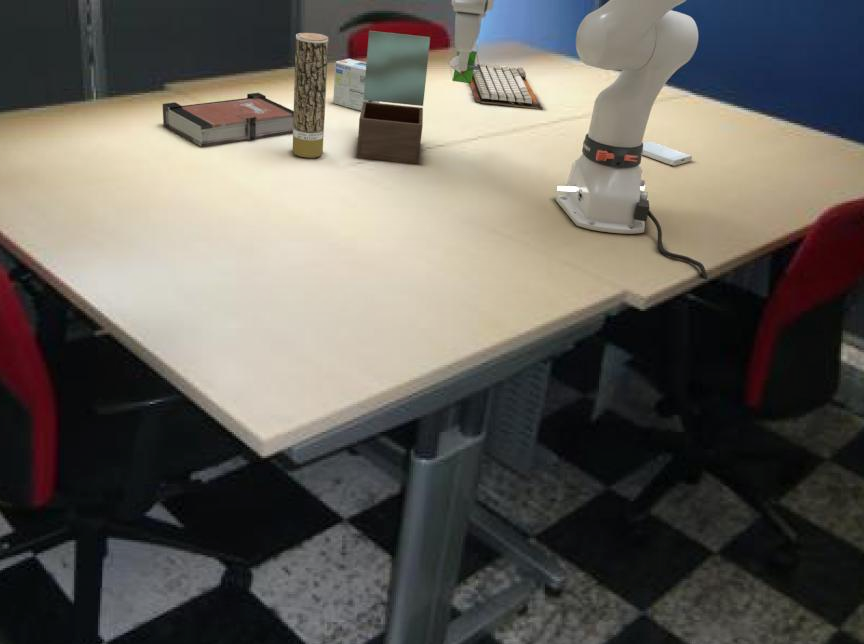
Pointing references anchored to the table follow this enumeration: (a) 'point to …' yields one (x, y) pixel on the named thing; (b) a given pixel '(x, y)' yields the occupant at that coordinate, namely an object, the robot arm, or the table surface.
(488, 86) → the mechanical keyboard
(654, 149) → the hard drive
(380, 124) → the case
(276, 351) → the table surface
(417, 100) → the pale blue slab
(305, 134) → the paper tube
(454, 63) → the geometric puzzle
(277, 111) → the book
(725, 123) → the table surface
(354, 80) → the light bulb box
